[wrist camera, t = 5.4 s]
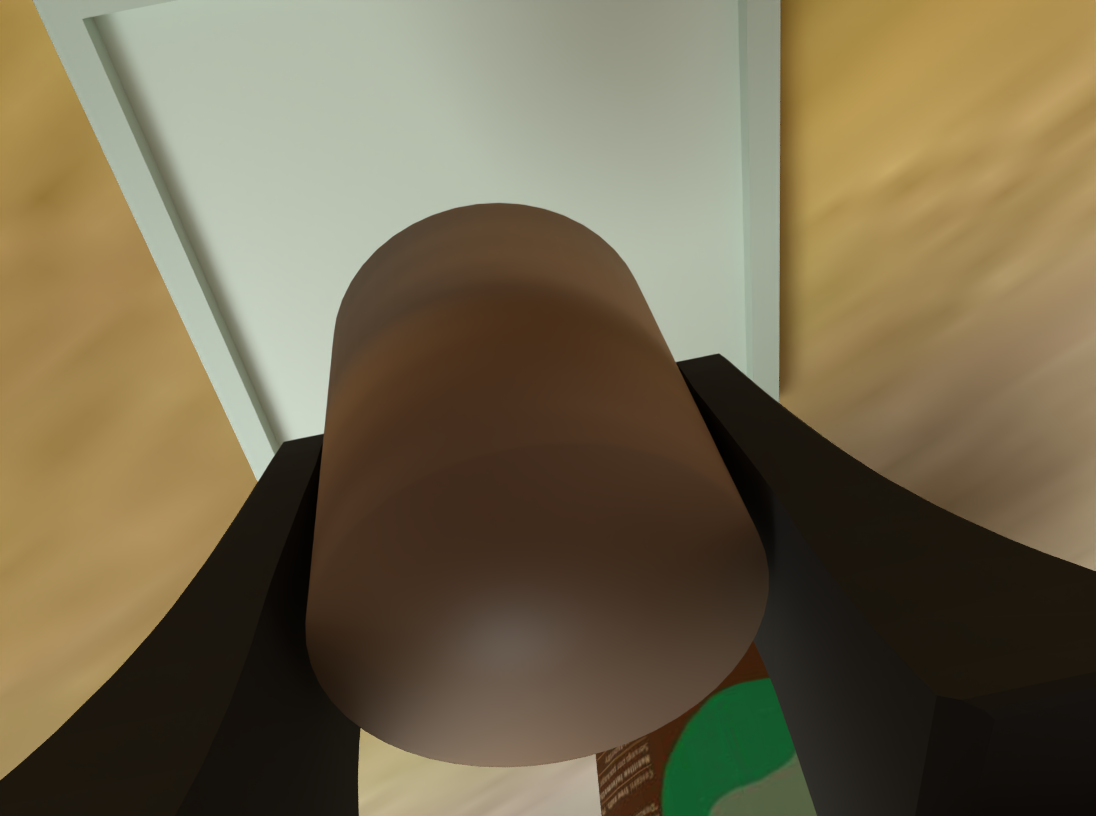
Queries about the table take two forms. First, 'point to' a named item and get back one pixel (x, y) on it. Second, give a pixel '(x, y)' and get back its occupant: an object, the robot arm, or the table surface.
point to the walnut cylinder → (518, 502)
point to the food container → (712, 758)
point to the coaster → (430, 159)
